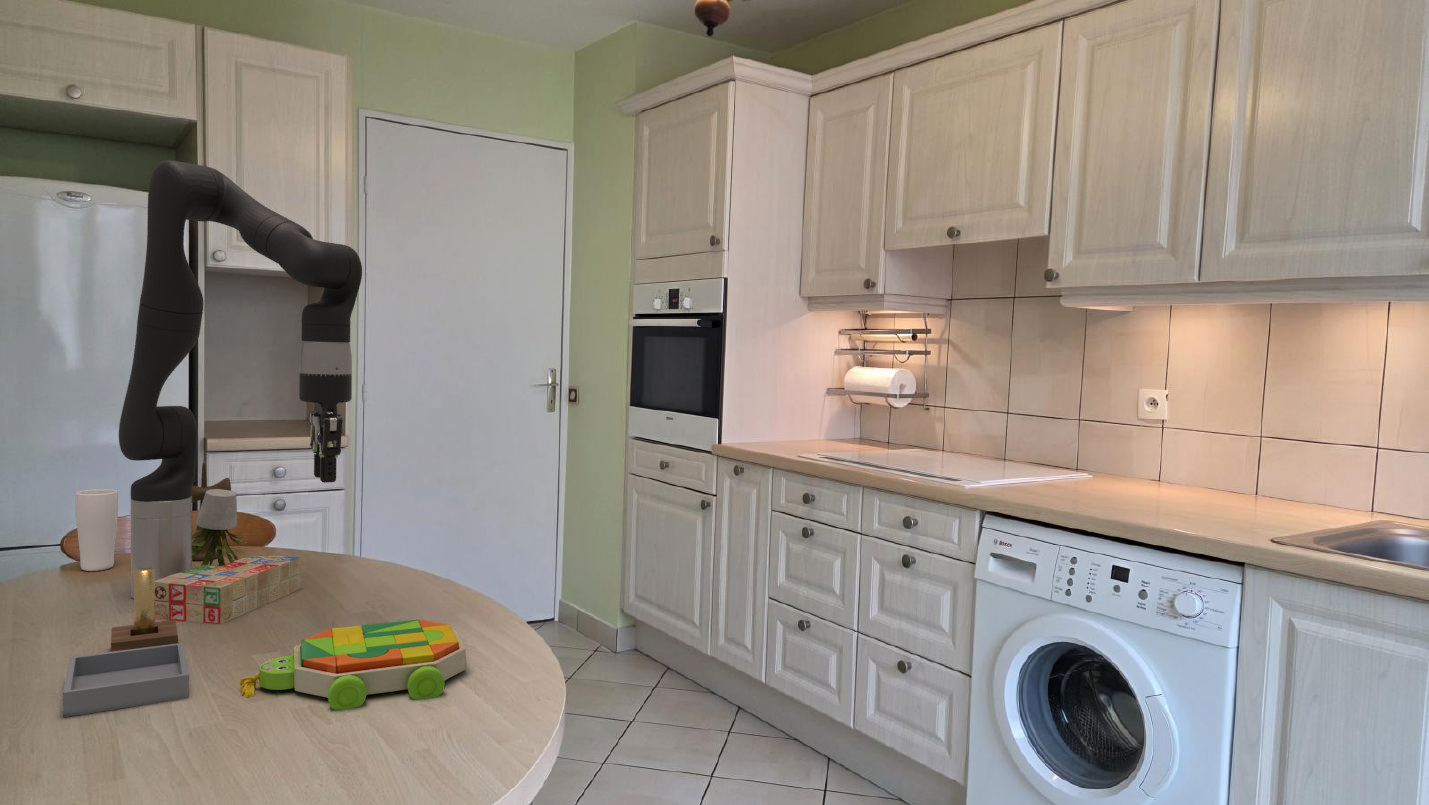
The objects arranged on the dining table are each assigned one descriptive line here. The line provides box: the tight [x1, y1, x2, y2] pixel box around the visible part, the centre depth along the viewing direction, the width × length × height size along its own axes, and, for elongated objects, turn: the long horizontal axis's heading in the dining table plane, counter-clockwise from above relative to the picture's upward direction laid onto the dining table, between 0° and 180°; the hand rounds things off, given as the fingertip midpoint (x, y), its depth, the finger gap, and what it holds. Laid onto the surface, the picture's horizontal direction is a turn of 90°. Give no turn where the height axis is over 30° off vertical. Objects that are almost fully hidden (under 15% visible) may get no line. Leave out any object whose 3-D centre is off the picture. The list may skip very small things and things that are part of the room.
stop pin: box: [133, 568, 156, 636], centre depth 131 cm, size 2×2×12 cm
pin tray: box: [62, 642, 190, 718], centre depth 118 cm, size 14×13×3 cm
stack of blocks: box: [155, 554, 301, 625], centre depth 155 cm, size 21×6×12 cm
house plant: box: [192, 489, 249, 566], centre depth 174 cm, size 14×14×16 cm
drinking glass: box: [75, 488, 119, 572], centre depth 175 cm, size 7×7×15 cm
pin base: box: [110, 620, 179, 652], centre depth 131 cm, size 8×8×3 cm
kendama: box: [192, 461, 232, 562], centre depth 184 cm, size 6×10×20 cm, turn 123°
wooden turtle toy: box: [239, 619, 467, 711], centre depth 123 cm, size 22×28×6 cm
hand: (324, 479), depth 142 cm, fingers open, 5 cm apart
